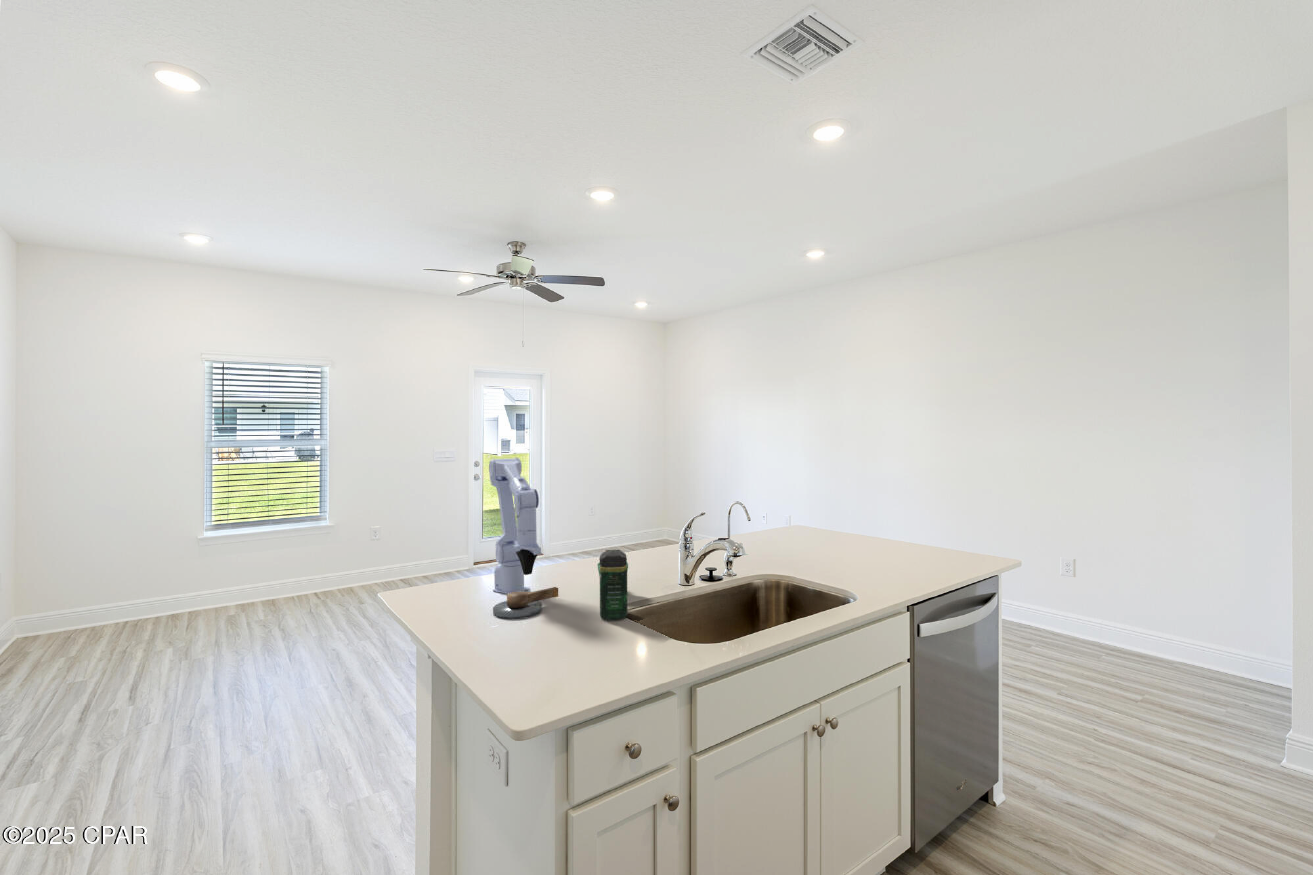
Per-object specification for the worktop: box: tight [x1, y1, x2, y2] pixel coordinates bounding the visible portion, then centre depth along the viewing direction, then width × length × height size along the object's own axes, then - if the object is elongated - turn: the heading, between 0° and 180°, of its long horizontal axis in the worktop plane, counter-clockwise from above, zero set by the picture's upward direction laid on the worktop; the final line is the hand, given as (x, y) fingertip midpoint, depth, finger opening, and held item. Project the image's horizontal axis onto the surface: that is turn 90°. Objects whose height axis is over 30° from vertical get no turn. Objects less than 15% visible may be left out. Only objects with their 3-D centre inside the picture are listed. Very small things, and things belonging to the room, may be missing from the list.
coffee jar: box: [598, 549, 628, 622], centre depth 168 cm, size 10×8×19 cm
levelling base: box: [492, 600, 543, 620], centre depth 174 cm, size 14×14×2 cm
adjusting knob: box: [506, 586, 559, 608], centre depth 177 cm, size 16×6×3 cm, turn 128°
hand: (527, 574), depth 180 cm, fingers closed
